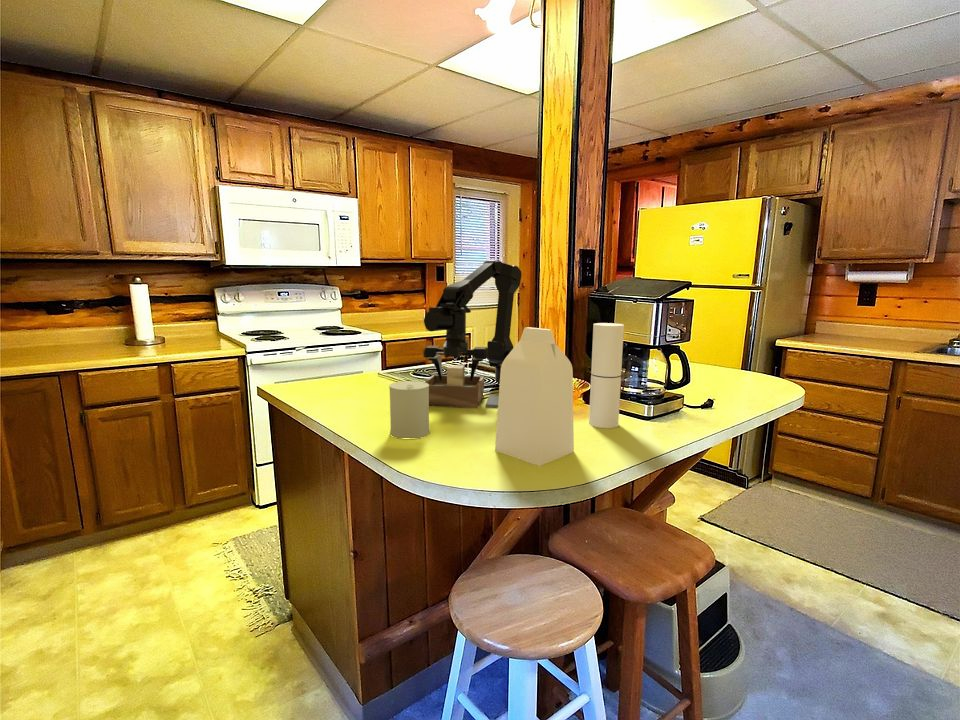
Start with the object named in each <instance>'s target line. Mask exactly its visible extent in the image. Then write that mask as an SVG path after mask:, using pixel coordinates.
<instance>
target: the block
mask: <svg viewBox="0 0 960 720" xmlns="http://www.w3.org/2000/svg"><path fill="white" fill-rule="evenodd" d="M446 375H447V386H464V385H465V376H466V369H465V365H461V364H460V365H457V364H456V365H452V364H449V365H448V366H447V367H446Z"/></svg>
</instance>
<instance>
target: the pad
mask: <svg viewBox="0 0 960 720" xmlns="http://www.w3.org/2000/svg"><path fill="white" fill-rule="evenodd" d="M498 400H499V394H492V393H491V394H489V395H488V398H487V400H486V403H485V408H494V409H498Z"/></svg>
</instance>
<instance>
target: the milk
mask: <svg viewBox="0 0 960 720" xmlns="http://www.w3.org/2000/svg"><path fill="white" fill-rule="evenodd" d="M553 334H554V333H553V331H552V329H548V328H542V327H541V328H538V327H530V326H529V327H524V328H523V331H522V334H521V336H520V338H519V341H518V342H517V343H516V344H515V346H513V349H512V351H511V352H510V353H509V354H508V356H507V357H506V358H505V359H504V361H503V363H502V365H501V372H500V386H499V387H498V390H499V391H498V395H499V400H498V408H497V417H496V418H497V419H496V430H495V431H496V432H495V446H494V451H495V452H499V453H501V454H503V455H506V456H510V457H512V458H515V459H518V460H520V461H521V460H522V461H524V462H526V463H528V464H533V465H535V466H537V467H541V466H544V465H545V464H547V463H551V462H553V461H555V460H557V459H560V458H562V457H566V456H567V455H569V454H572V453H574V452H575V443H574V442H575V441H574V439H575V438H574V437H575V436H574V434H575V433H574V429H575V428H574V380H573V379H574V376H573V375H574V374H573V365H572V363H571V361H570V359H569V358H568V357H567V355H566V354H565V353H564V352H563V351H562V350H561V348H560V347H559V346H558V345H557V343H556V341H555V337H554V335H553Z"/></svg>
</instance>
